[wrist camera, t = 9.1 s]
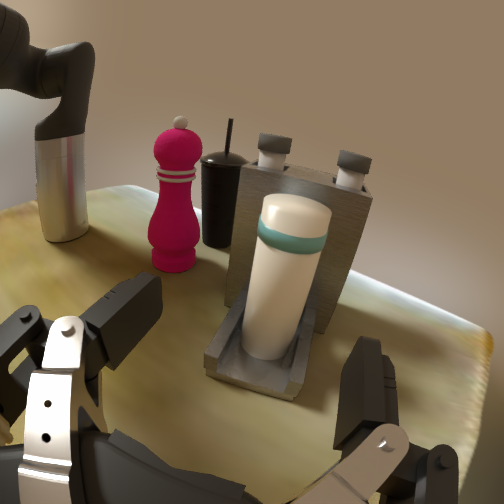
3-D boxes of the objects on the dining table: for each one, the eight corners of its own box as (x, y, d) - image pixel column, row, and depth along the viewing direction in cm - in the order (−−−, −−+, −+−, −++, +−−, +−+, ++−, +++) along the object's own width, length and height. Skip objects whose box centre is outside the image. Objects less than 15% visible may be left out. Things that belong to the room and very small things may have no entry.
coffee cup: (231, 351, 24) (253, 206, 17) (248, 317, 29) (271, 189, 22) (285, 367, 23) (332, 226, 16) (294, 331, 28) (333, 204, 21)
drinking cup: (190, 250, 41) (201, 116, 32) (197, 229, 48) (207, 116, 38) (239, 255, 42) (259, 122, 33) (239, 233, 49) (255, 121, 39)
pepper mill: (161, 245, 41) (166, 114, 32) (204, 254, 41) (217, 118, 31) (140, 268, 35) (140, 115, 25) (188, 280, 34) (200, 118, 25)
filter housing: (185, 366, 23) (186, 191, 15) (242, 275, 37) (260, 158, 30) (312, 406, 20) (396, 244, 13) (327, 299, 35) (364, 183, 27)
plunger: (246, 197, 27) (256, 133, 24) (255, 190, 30) (264, 133, 26) (277, 204, 26) (289, 139, 23) (283, 196, 29) (294, 138, 26)
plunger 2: (325, 216, 25) (340, 151, 22) (326, 207, 28) (339, 149, 25) (356, 225, 25) (374, 160, 22) (354, 215, 28) (369, 157, 24)
